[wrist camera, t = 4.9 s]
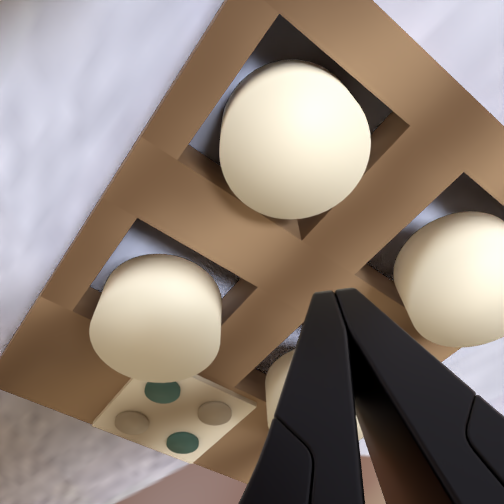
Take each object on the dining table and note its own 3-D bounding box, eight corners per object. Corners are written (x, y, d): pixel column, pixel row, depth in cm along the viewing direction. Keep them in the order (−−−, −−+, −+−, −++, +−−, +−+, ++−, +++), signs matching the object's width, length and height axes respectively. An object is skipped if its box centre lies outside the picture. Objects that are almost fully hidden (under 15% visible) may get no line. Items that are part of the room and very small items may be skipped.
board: (586, 211, 21) (624, 240, 19) (264, 461, 31) (265, 498, 29) (276, -83, 15) (283, -88, 12) (2, 354, 25) (-20, 391, 23)
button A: (542, 253, 19) (576, 287, 18) (446, 327, 22) (466, 364, 20) (464, 187, 18) (492, 217, 16) (368, 276, 20) (382, 311, 18)
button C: (387, 372, 23) (401, 410, 21) (319, 424, 26) (326, 463, 24) (310, 328, 21) (317, 366, 20) (244, 389, 24) (245, 428, 22)
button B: (384, 116, 18) (402, 138, 16) (297, 213, 20) (303, 242, 18) (278, 27, 16) (284, 38, 14) (195, 144, 18) (190, 169, 16)
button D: (245, 291, 20) (245, 328, 18) (182, 359, 22) (176, 398, 20) (140, 232, 18) (128, 265, 16) (83, 312, 21) (67, 350, 19)
